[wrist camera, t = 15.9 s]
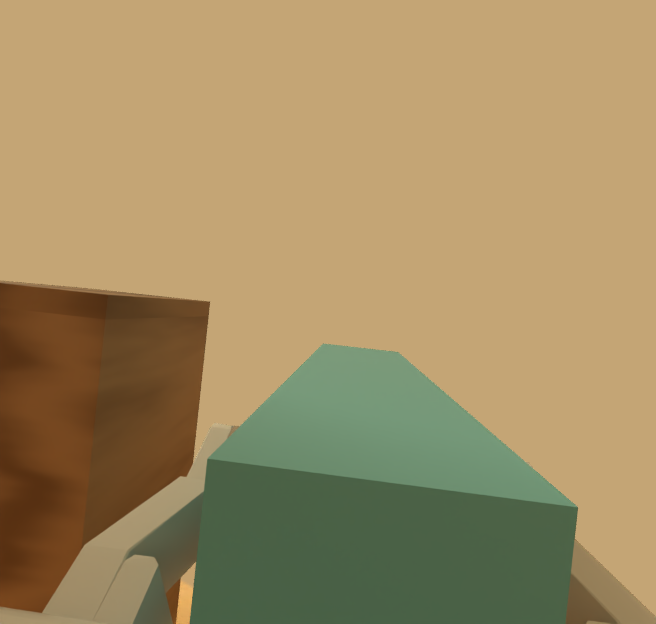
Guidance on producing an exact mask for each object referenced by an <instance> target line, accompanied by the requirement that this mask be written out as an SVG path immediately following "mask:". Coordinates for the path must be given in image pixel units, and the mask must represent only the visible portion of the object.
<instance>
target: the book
mask: <svg viewBox="0 0 656 624" xmlns="http://www.w3.org/2000/svg"><path fill="white" fill-rule="evenodd" d="M577 511H578V507H577V506H576V505H575V504H574V503H572V502H571V501H570V500H569V499H568V498H566V497H565V496H564V495H563V494H562V493H561V492H560V491H558V490H557V489H556V488H555V487H554V486H553V485H552V484H550V483H549V482H548V481H547V480H546V479H545V478H543V477H542V476H541V475H540V474H539V473H538V472H536V471H535V470H534V469H533V468H532V467H531V466H529V465H528V464H527V463H526V462H525V461H524V460H523V459H521V458H520V457H519V456H518V455H517V454H516V453H514V452H513V451H512V450H511V449H510V448H508V447H507V446H506V445H505V444H504V443H503V442H501V441H500V440H499V439H498V438H497V437H496V436H495V435H493V434H492V433H491V432H490V431H489V430H488V429H486V428H485V427H484V426H483V425H482V424H481V423H480V422H478V421H477V420H476V419H475V418H474V417H473V416H471V415H470V414H469V413H468V412H467V411H466V410H464V409H463V408H462V407H461V406H460V405H459V404H458V403H456V402H455V401H454V400H453V399H452V398H451V397H449V396H448V395H447V394H446V393H445V392H444V391H442V390H441V389H440V388H439V387H438V386H437V385H435V384H434V383H433V382H432V381H431V380H429V379H428V378H427V377H426V376H425V375H424V374H423V373H421V372H420V371H419V370H418V369H417V368H415V366H413V365H412V364H411V363H410V362H409V361H408V360H406V359H405V358H404V357H403V356H402V355H401V354H399V353H398V352H393V351H384V350H375V349H366V348H357V347H348V346H339V345H331V344H323V345H321V347H319V348H318V349H317V350H316V351H315V352H314V353H313V354H312V355H311V357H309V358H308V359H307V360H306V361H305V362H304V363H303V364H302V365H301V366H300V367H299V368H298V369H297V370H296V371H295V372H294V373H293V374H292V375H291V376H290V377H289V378H288V379H287V380H286V381H285V382H284V383H283V384H282V385H281V386H280V387H279V388H278V389H277V390H276V391H275V392H274V393H273V394H272V395H271V396H270V397H269V398H268V399H267V400H266V401H265V402H264V403H263V404H262V405H261V406H260V407H259V408H258V409H257V410H256V411H255V412H254V413H253V414H252V415H251V416H250V417H249V418H248V419H247V420H246V421H245V422H244V423H243V424H242V425H241V426H240V427H239V428H238V429H237V430H236V431H235V432H234V433H233V434H232V435H231V436H230V437H229V438H228V439H227V440H226V441H225V442H224V443H223V444H222V445H221V446H220V447H219V448H217V449H216V450H215V451H214V452H213V453H212V454H211V455H210V456H209V457H208V458H207V466H206V476H205V485H204V494H203V504H202V513H201V523H200V532H199V541H198V551H197V560H196V570H195V579H194V588H193V597H192V607H191V616H190V624H565V623H566V613H567V604H568V595H569V586H570V577H571V567H572V558H573V549H574V540H575V531H576V521H577Z"/></svg>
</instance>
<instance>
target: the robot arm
mask: <svg viewBox="0 0 656 624" xmlns="http://www.w3.org/2000/svg"><path fill="white" fill-rule="evenodd" d="M238 428H239V426H231V425H224V424H217V423H214V424H213V425H212V426H211V427H210V429H209V431H208V433H207V436H206V437H205V440H204V442H203V444H202V446H201V448H200V450H199V452H198V454H197V456H196V458H195V461H194V463H193V465H192V467H191V469H190V471H189V473H188V475H187V477H182V476H180V477H179V478H177V479H176V480H175V481H173V482H172V483H170V484H169V485H168V486H166V487H165V488H163V489H162V490H161V491H159V492H158V493H157V494H155V495H154V496H152V497H151V498H150V499H148V500H147V501H145V502H144V503H143V504H141V505H140V506H138V507H137V508H136V509H134V510H133V511H131V512H130V513H129V514H127V515H126V516H124V517H123V518H122V519H120V520H119V521H117V522H116V523H115V524H113V525H112V526H110V527H109V528H108V529H106V530H105V531H103V532H102V533H101V534H99V535H98V536H96V537H95V538H94V539H92V540H91V541H89V542H88V543H87V544H85V545H84V547H83V548H82V550H81V551H80V553H79V555H78V556H77V558H76V559H75V561H74V563H73V564H72V566H71V567H70V569H69V571H68V572H67V574H66V575H65V577H64V579H63V580H62V582H61V583H60V585H59V586H58V588H57V590H56V591H55V593H54V594H53V596H52V598H51V599H50V601H49V602H48V604H47V606H46V607H45V609H44V610H43V612H42V613H38V612H32V611H25V610H19V609H12V608H6V607H0V624H173V621H172V617H171V613H170V609H169V605H168V601H167V597H166V592H167V591H168V590H169V589H170V588H171V587H172V586H173V585H174V584H175V583H176V582H177V581H178V580H179V579H180V578H181V577H182V575H183V574H184V573H185V572H186V571H187V570H188V569H189V568H190V567H191V566H192V565H193V564H194V563H195V562H196V560H197V551H198V541H199V532H200V523H201V513H202V504H203V494H204V485H205V476H206V466H207V458H208V457H209V456H210V455H211V454H212V453H213V452H214V451H215V450H216V449H217V448H219V447H220V446H221V445H222V444H223V443H224V442H225V441H226V440H227V439H228V438H229V437H230V436H231V435H232V434H233V433H234V432H235V431H236V430H237V429H238ZM526 463H527V464H528V465H529V466H531V465H530V464H529V463H528V462H526ZM531 467H532V466H531ZM565 624H656V617H655V615H654V614H652V613H651V612H650V611H649V610H648V609H647V608H646V607H645V606H644V605H643V604H642V603H641V602H640V601H639V600H638V599H637V598H636V597H635V596H634V595H633V594H631V592H630V591H629V590H628V589H627V588H626V587H624V586H623V585H622V584H621V583H620V582H619V581H618V580H617V579H616V578H615V577H614V576H613V575H612V574H611V573H610V572H609V571H608V570H607V569H606V568H605V567H604V566H603V565H602V564H601V563H600V562H598V561H597V560H596V559H595V558H594V557H593V556H592V555H591V554H590V553H589V552H588V551H587V550H586V549H585V548H584V547H583V546H582V545H581V544H580V543H579V542H578V541H577V540H576V539H575V540H574V549H573V558H572V567H571V577H570V586H569V595H568V604H567V613H566V623H565Z"/></svg>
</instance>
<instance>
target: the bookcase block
mask: <svg viewBox="0 0 656 624" xmlns="http://www.w3.org/2000/svg"><path fill="white" fill-rule="evenodd" d="M209 306H210V302H207V301H198V300H189V299H180V298H171V297H170V298H169V297H162V296H152V295H143V294H134V293H125V292H116V291H107V290H97V289H88V288H77V287H65V286H55V285H43V284H31V283H21V282H9V281H0V607H6V608H12V609H19V610H25V611H32V612H38V613H42V612H43V610H44V609H45V607H46V606H47V604H48V602H49V601H50V599H51V598H52V596H53V594H54V593H55V591H56V590H57V588H58V586H59V585H60V583H61V582H62V580H63V579H64V577H65V575H66V574H67V572H68V571H69V569H70V567H71V566H72V564H73V563H74V561H75V559H76V558H77V556H78V555H79V553H80V551H81V550H82V548H83V547H84V545H85V544H87V543H88V542H89V541H91V540H92V539H94V538H95V537H96V536H98V535H99V534H101V533H102V532H103V531H105V530H106V529H108V528H109V527H110V526H112V525H113V524H115V523H116V522H117V521H119V520H120V519H122V518H123V517H124V516H126V515H127V514H129V513H130V512H131V511H133V510H134V509H136V508H137V507H138V506H140V505H141V504H143V503H144V502H145V501H147V500H148V499H150V498H151V497H152V496H154V495H155V494H157V493H158V492H159V491H161V490H162V489H163V488H165V487H166V486H168V485H169V484H170V483H172V482H173V481H175V480H176V479H177V478H179V477H180V476H182V477H187V475H188V473H189V471H190V469H191V467H192V465H193V457H194V446H195V437H196V428H197V418H198V410H199V400H200V391H201V381H202V372H203V363H204V353H205V344H206V334H207V325H208V315H209ZM180 579H181V578H180ZM180 579H179V580H178V581H177V582H176V583H175V584H174V585H173V586H172V587H171V588H170V589H169V590H168V591H167V592H166V597H167V601H168V605H169V609H170V613H171V617H172V621H173V624H176V617H177V607H178V598H179V588H180Z"/></svg>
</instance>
